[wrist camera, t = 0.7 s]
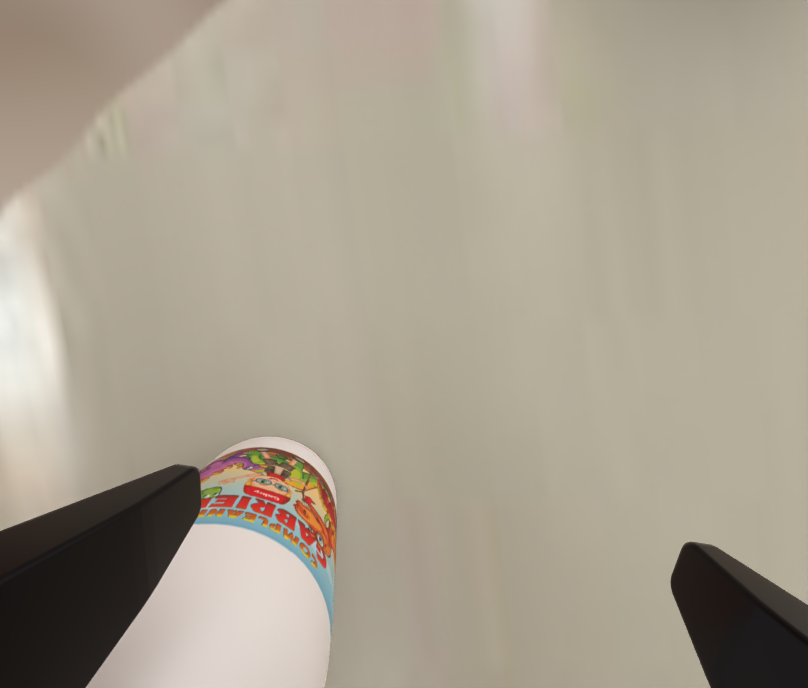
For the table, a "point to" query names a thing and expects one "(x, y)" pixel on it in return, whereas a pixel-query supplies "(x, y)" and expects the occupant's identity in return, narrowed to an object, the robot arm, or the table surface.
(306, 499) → the milk bottle
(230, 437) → the table surface
